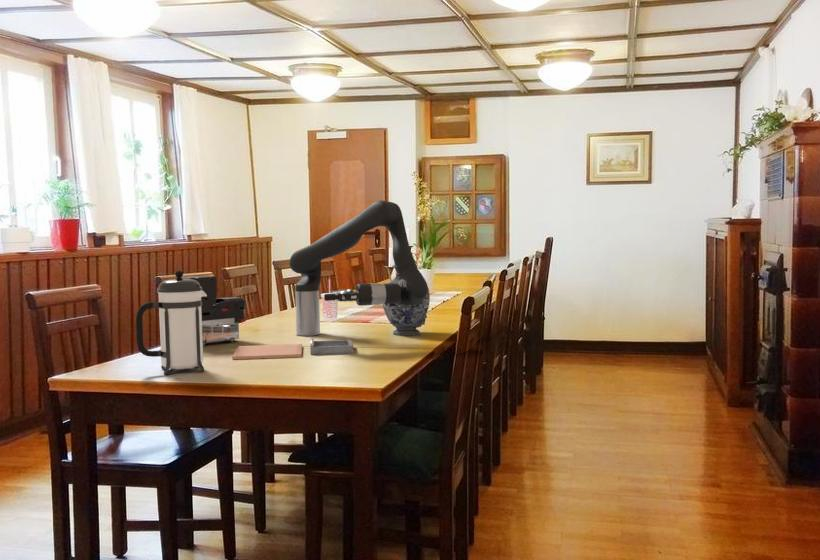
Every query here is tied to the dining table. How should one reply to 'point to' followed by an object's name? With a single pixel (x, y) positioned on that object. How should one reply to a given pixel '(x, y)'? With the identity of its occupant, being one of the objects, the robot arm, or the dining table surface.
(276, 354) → the terracotta tile
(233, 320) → the bill acceptor
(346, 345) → the square metal frame
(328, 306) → the beverage cup
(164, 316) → the coffee press
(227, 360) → the dining table surface
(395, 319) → the decorative vase
